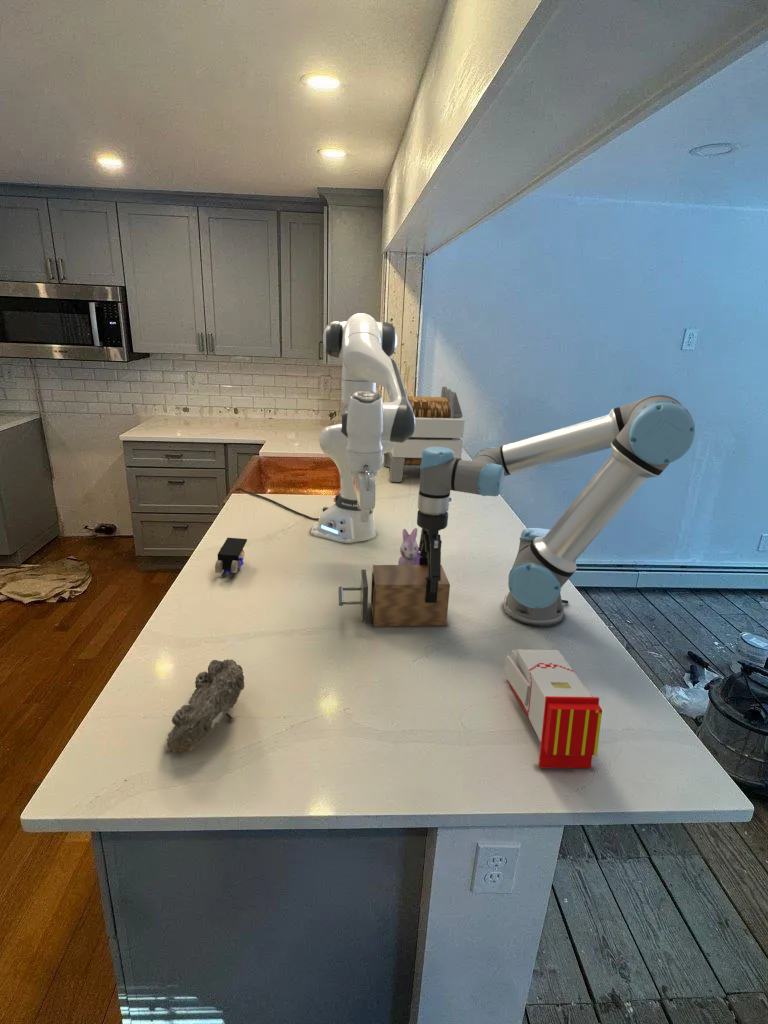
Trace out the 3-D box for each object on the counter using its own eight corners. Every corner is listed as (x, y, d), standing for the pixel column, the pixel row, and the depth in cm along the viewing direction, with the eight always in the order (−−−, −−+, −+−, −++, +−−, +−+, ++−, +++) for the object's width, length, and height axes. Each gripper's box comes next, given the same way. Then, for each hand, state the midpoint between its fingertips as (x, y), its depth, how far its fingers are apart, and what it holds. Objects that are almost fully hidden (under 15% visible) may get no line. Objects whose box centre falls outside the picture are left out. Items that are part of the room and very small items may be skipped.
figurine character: (238, 584, 162) (249, 557, 175) (236, 562, 158) (247, 536, 172) (215, 584, 161) (227, 556, 175) (212, 561, 158) (225, 535, 171)
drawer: (338, 621, 141) (339, 587, 137) (337, 602, 150) (338, 569, 147) (429, 620, 143) (431, 587, 140) (423, 601, 152) (425, 569, 149)
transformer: (382, 463, 289) (386, 382, 275) (445, 464, 293) (451, 384, 279) (390, 482, 257) (394, 392, 243) (460, 483, 261) (468, 394, 247)
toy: (554, 631, 124) (612, 705, 95) (548, 687, 127) (603, 776, 98) (499, 630, 124) (540, 704, 94) (495, 686, 126) (533, 775, 97)
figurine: (405, 586, 162) (408, 538, 157) (388, 572, 170) (390, 525, 165) (433, 580, 166) (436, 533, 161) (415, 566, 174) (418, 521, 169)
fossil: (192, 660, 117) (244, 628, 112) (224, 691, 120) (276, 661, 115) (142, 746, 98) (202, 712, 93) (182, 779, 101) (242, 748, 96)
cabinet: (374, 626, 141) (375, 584, 137) (371, 604, 152) (372, 564, 148) (446, 625, 143) (450, 584, 139) (438, 603, 154) (441, 564, 150)
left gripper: (382, 472, 128) (380, 529, 132) (372, 451, 147) (370, 501, 151) (354, 472, 127) (353, 529, 131) (348, 451, 146) (347, 502, 150)
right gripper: (458, 528, 127) (450, 614, 135) (439, 495, 150) (433, 570, 157) (425, 528, 127) (419, 614, 134) (411, 495, 149) (406, 570, 156)
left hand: (362, 514), depth 141 cm, fingers open, 8 cm apart
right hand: (426, 590), depth 146 cm, fingers closed on cabinet, 11 cm apart
